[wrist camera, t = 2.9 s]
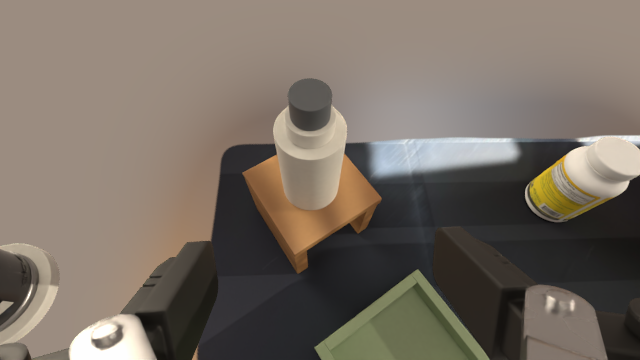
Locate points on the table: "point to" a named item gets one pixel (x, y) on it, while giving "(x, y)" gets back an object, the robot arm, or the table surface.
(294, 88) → the white bottle
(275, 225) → the wooden stand
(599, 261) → the table surface
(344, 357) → the sage green tray
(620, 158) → the pill bottle
